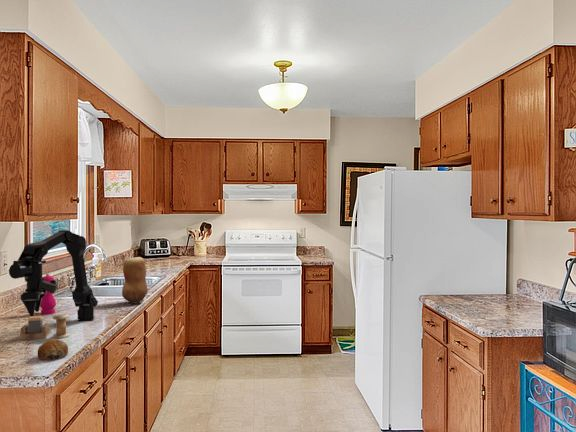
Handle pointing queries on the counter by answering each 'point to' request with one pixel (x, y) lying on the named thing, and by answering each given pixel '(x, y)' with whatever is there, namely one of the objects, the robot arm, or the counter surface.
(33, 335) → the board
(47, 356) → the bread roll
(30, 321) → the block
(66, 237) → the robot arm
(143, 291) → the butternut squash
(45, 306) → the pepper mill
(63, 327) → the door knob
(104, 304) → the counter surface
